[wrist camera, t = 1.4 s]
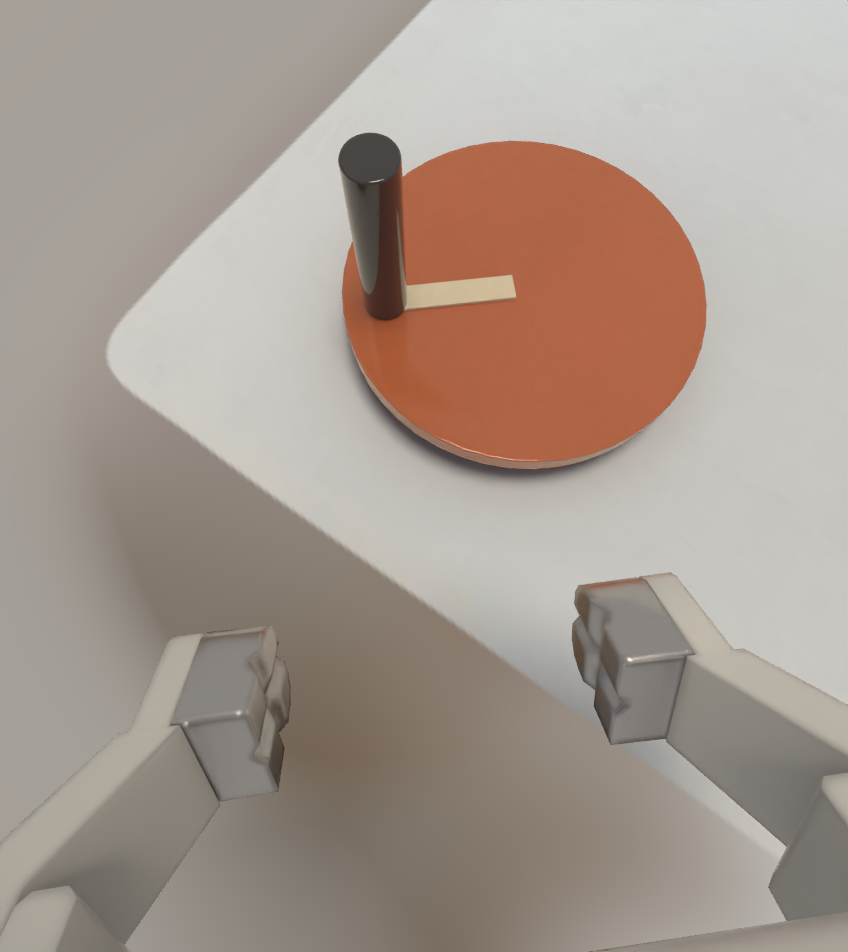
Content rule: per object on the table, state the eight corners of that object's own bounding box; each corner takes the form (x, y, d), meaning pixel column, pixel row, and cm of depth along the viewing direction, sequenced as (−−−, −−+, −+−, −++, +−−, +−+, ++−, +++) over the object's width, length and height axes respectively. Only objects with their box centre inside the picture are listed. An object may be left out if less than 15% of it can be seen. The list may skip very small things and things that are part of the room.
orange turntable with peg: (503, 546, 23) (556, 503, 14) (276, 278, 26) (201, 104, 17) (767, 325, 26) (952, 171, 17) (532, 108, 29) (582, -118, 20)
